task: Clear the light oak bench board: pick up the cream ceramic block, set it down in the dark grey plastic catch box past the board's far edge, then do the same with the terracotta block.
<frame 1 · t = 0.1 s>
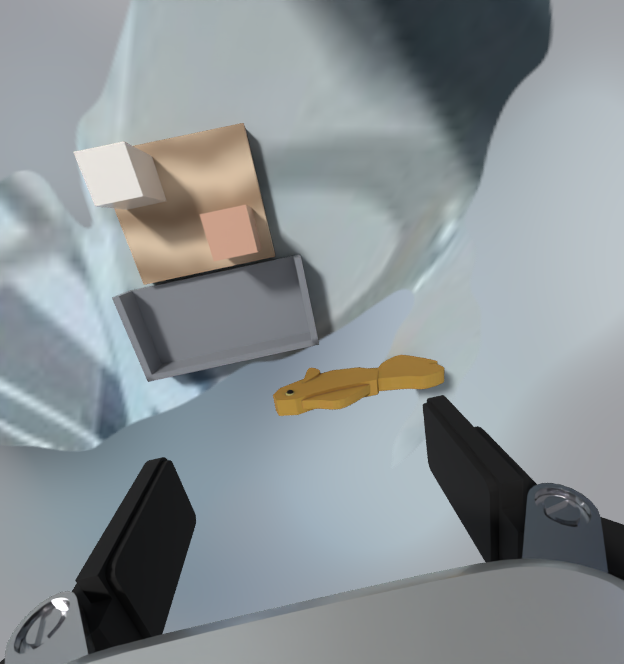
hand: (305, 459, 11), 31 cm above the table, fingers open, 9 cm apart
terracotta block: (238, 232, 36), point 2 cm above the table, touching bench board
catch box: (226, 313, 41), on the table
decorative fish: (351, 368, 45), on the table
cream block: (139, 183, 33), point 2 cm above the table, touching bench board
bench board: (195, 209, 37), on the table
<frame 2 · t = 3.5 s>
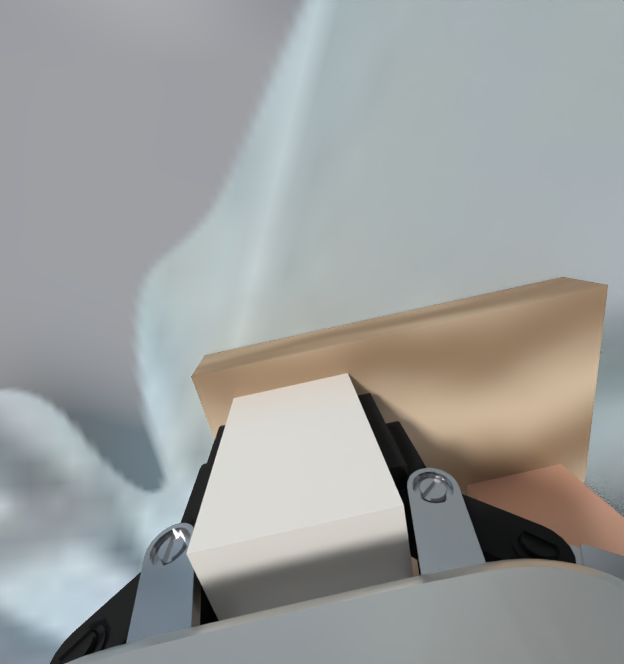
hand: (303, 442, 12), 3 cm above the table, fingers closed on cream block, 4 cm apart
terracotta block: (513, 510, 15), point 2 cm above the table, touching bench board
cream block: (303, 433, 13), point 2 cm above the table, touching bench board, gripper
bench board: (401, 445, 16), on the table
when the fingers open (3 cm above the table, at t = 17.0 s): cream block stays where it is, resting on catch box.
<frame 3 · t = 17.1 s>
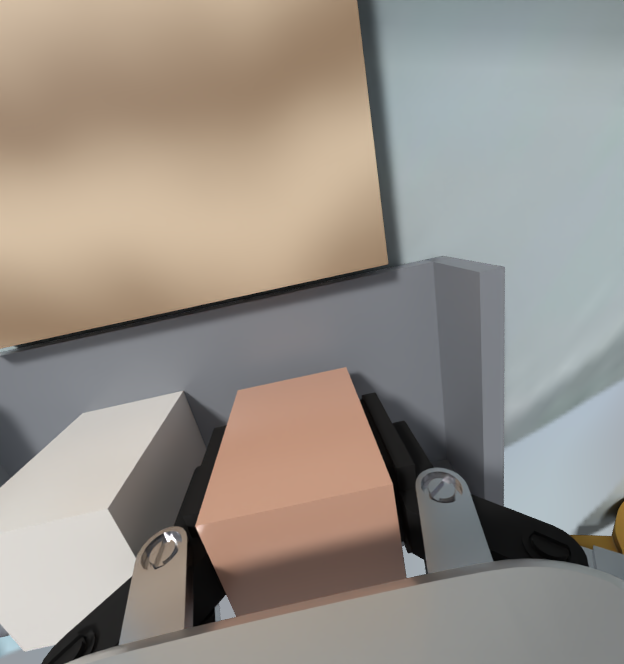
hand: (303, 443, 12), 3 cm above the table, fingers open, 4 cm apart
terracotta block: (303, 424, 13), point 2 cm above the table
catch box: (229, 417, 15), on the table
decorative fish: (518, 521, 19), on the table
cream block: (152, 443, 14), point 1 cm above the table, touching catch box, gripper
bench board: (123, 106, 11), on the table
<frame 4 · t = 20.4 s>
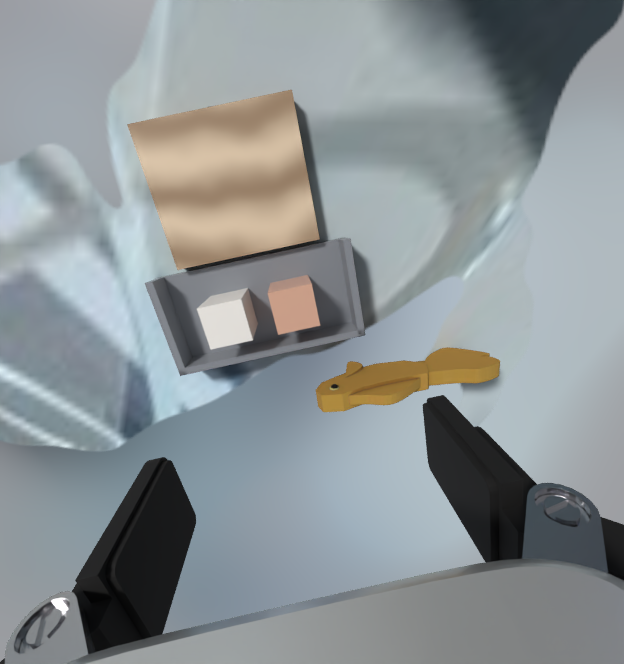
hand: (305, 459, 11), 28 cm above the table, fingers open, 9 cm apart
terracotta block: (293, 297, 37), point 1 cm above the table, touching catch box
catch box: (263, 302, 38), on the table
decorative fish: (392, 362, 42), on the table
cream block: (234, 310, 37), point 1 cm above the table, touching catch box
bench board: (233, 188, 34), on the table
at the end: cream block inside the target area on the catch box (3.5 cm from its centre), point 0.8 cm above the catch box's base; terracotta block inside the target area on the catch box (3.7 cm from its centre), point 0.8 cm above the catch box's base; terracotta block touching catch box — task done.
